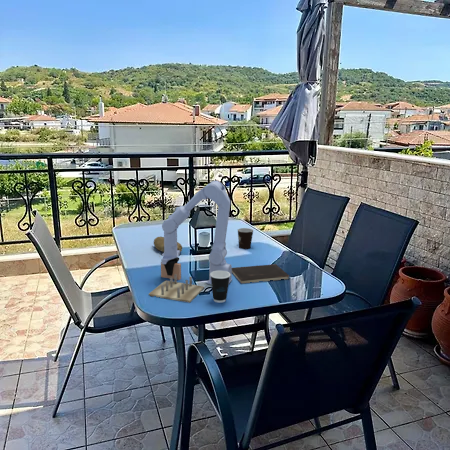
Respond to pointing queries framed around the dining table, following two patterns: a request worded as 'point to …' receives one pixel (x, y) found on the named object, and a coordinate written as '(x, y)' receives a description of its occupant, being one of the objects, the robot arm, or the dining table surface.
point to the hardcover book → (259, 273)
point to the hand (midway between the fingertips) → (171, 274)
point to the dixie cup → (220, 285)
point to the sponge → (160, 244)
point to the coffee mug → (245, 238)
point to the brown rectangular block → (175, 271)
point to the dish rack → (177, 290)
